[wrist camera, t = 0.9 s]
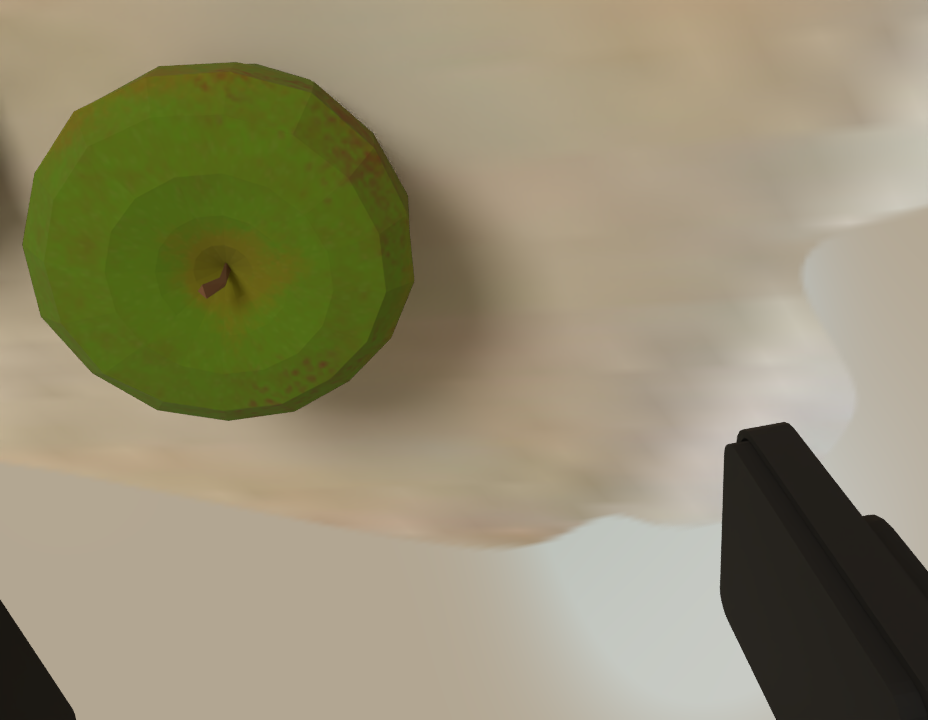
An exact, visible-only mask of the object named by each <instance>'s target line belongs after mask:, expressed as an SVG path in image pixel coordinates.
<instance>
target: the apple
mask: <svg viewBox="0 0 928 720" xmlns="http://www.w3.org/2000/svg"><path fill="white" fill-rule="evenodd" d="M22 245H23V249H24V253H25V257H26V261H27V265H28V268H29V272H30V276H31V280H32V284H33V288H34V292H35V295H36V299H37V303H38V307H39V311H40V315H41V317H42V318H43V319H44V320H45V321H46V323H47V324H48V325H49V326H50V327H51V328H52V329H53V330H54V331H55V332H56V334H57V335H58V336H59V337H60V338H61V339H62V340H63V341H64V342H65V344H66V345H67V346H68V347H69V348H70V349H71V350H72V351H73V352H74V353H75V355H76V356H77V357H78V358H79V359H80V360H81V361H82V362H83V363H84V365H85V366H86V367H87V368H88V369H89V370H90V371H91V372H92V373H93V374H95V375H97V376H98V377H100V378H102V379H104V380H105V381H107V382H109V383H111V384H112V385H114V386H116V387H118V388H119V389H121V390H123V391H125V392H126V393H128V394H130V395H132V396H133V397H135V398H137V399H139V400H141V401H142V402H144V403H146V404H148V405H149V406H151V407H153V408H155V409H156V410H160V411H167V412H173V413H180V414H187V415H193V416H200V417H207V418H214V419H220V420H227V421H230V420H237V419H244V418H251V417H258V416H266V415H273V414H280V413H287V412H294V411H296V410H298V409H300V408H302V407H303V406H305V405H307V404H309V403H310V402H312V401H314V400H316V399H318V398H319V397H321V396H323V395H325V394H327V393H328V392H330V391H332V390H334V389H336V388H337V387H339V386H341V385H343V384H345V383H346V382H348V381H349V380H350V379H351V378H352V377H353V376H354V375H355V374H356V373H357V372H358V371H359V370H360V369H361V368H362V367H363V366H364V365H365V364H366V363H367V362H368V361H369V360H370V359H371V358H372V357H373V356H374V355H375V354H376V353H377V352H378V351H379V350H380V349H381V348H382V347H383V346H384V345H385V344H386V343H387V342H388V341H389V340H390V339H391V337H392V334H393V332H394V329H395V327H396V325H397V322H398V320H399V317H400V315H401V312H402V310H403V307H404V305H405V302H406V300H407V298H408V295H409V293H410V290H411V288H412V285H413V283H414V272H413V262H412V252H411V242H410V232H409V209H408V195H407V193H406V191H405V190H404V188H403V186H402V184H401V182H400V181H399V179H398V177H397V175H396V173H395V172H394V170H393V168H392V166H391V164H390V163H389V161H388V159H387V157H386V156H385V154H384V152H383V150H382V148H381V147H380V145H379V143H378V141H377V139H376V138H375V136H374V134H373V133H372V132H371V131H370V130H369V129H368V128H366V127H365V126H364V125H363V124H362V123H361V122H360V121H358V120H357V119H356V118H355V117H354V116H353V115H352V114H350V113H349V112H348V111H347V110H346V109H345V108H343V107H342V106H341V105H340V104H339V103H338V102H337V101H335V100H334V99H333V98H332V97H331V96H330V95H329V94H327V93H326V92H325V91H324V90H323V89H322V88H320V87H319V86H318V85H317V84H316V83H315V82H312V81H311V80H309V79H306V78H302V77H299V76H296V75H292V74H289V73H285V72H282V71H279V70H275V69H272V68H268V67H265V66H262V65H258V64H243V63H238V62H232V63H213V64H194V65H175V66H159V67H157V68H155V69H153V70H151V71H150V72H148V73H146V74H144V75H142V76H140V77H139V78H137V79H135V80H133V81H131V82H129V83H128V84H126V85H124V86H122V87H120V88H118V89H117V90H115V91H113V92H111V93H109V94H107V95H106V96H104V97H102V98H100V99H98V100H96V101H95V102H93V103H91V104H88V105H86V106H84V107H82V108H80V109H78V110H76V111H74V112H73V114H72V115H71V117H70V119H69V120H68V122H67V123H66V125H65V126H64V128H63V130H62V131H61V133H60V134H59V136H58V137H57V139H56V141H55V142H54V144H53V145H52V147H51V148H50V150H49V152H48V153H47V155H46V156H45V158H44V159H43V161H42V163H41V164H40V166H39V167H38V169H37V170H36V172H35V174H34V179H33V185H32V191H31V197H30V203H29V209H28V215H27V220H26V226H25V232H24V238H23V244H22Z"/></svg>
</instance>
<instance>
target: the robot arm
mask: <svg viewBox="0 0 928 720" xmlns="http://www.w3.org/2000/svg"><path fill="white" fill-rule="evenodd" d="M720 595H721V601H722V604H723V609H724V612H725V615H726V617H727V619H728V622H729V623H730V625H731V628H732V630H733V632H734V634H735V636H736V638H737V640H738V642H739V644H740V646H741V648H742V650H743V652H744V654H745V657H746V659H747V660H748V663H749V665H750V666H751V669H752V671H753V673H754V675H755V677H756V679H757V681H758V683H759V685H760V687H761V689H762V691H763V693H764V696H765V697H766V700H767V702H768V704H769V706H770V708H771V710H772V712H773V714H774V716H775V718H776V720H928V571H927V570H926V569H925V567H924V566H923V565H922V564H921V562H920V561H919V560H918V559H917V557H916V556H915V555H914V554H913V552H912V551H911V550H910V549H909V548H908V546H907V545H906V544H905V543H904V541H903V540H902V539H901V538H900V536H899V535H898V534H897V533H896V532H895V531H894V529H893V528H892V527H891V526H890V525H889V524H888V523H887V522H886V521H885V520H884V519H882V518H880V517H878V516H876V515H866V516H862V515H861V514H860V513H859V511H858V510H857V509H856V508H855V506H854V505H853V504H852V502H851V501H850V500H849V499H848V497H847V496H846V495H845V493H844V492H843V491H842V490H841V488H840V487H839V486H838V484H837V483H836V482H835V481H834V479H833V478H832V477H831V475H830V474H829V473H828V472H827V470H826V469H825V468H824V466H823V465H822V464H821V462H820V461H819V460H818V459H817V457H816V456H815V455H814V453H813V452H812V451H811V450H810V448H809V447H808V446H807V444H806V443H805V442H804V441H803V439H802V438H801V437H800V435H799V434H798V433H797V432H796V430H795V429H794V428H793V427H792V426H791V425H790V424H789V423H786V422H782V423H776V424H771V425H766V426H760V427H755V428H749V429H744V430H741V431H740V432H739V434H738V436H737V443H732V444H728V445H726V447H725V452H724V479H723V511H722V544H721V575H720ZM0 720H76V718H75V713H74V711H73V709H72V707H71V706H70V704H69V703H68V701H67V700H66V698H65V697H64V695H63V694H62V692H61V691H60V689H59V688H58V686H57V685H56V683H55V682H54V680H53V679H52V677H51V676H50V674H49V673H48V671H47V670H46V668H45V667H44V665H43V664H42V662H41V660H40V659H39V658H38V656H37V654H36V653H35V651H34V650H33V648H32V647H31V646H30V644H29V642H28V641H27V639H26V638H25V636H24V635H23V633H22V632H21V631H20V629H19V627H18V626H17V624H16V623H15V621H14V620H13V618H12V617H11V615H10V614H9V612H8V611H7V609H6V608H5V606H4V605H3V603H2V602H1V600H0Z"/></svg>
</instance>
